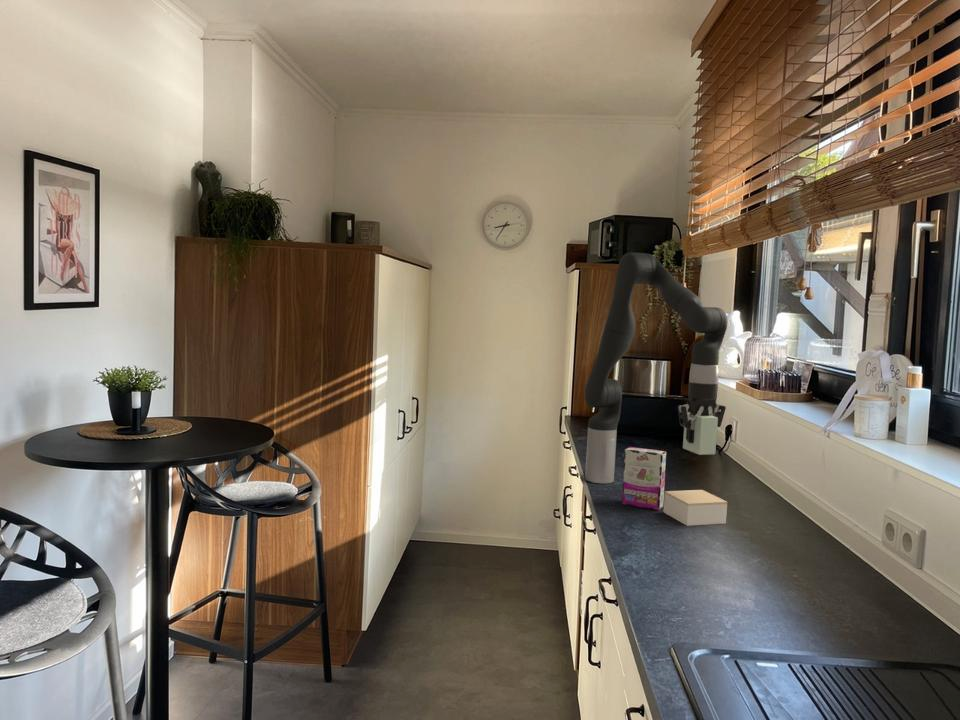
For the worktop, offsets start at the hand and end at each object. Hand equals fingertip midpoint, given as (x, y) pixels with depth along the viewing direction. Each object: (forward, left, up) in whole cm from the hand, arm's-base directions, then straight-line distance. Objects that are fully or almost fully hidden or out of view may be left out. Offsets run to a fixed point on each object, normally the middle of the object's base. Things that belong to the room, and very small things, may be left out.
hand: (699, 442), depth 201 cm
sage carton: (0, 0, -2) cm, 2 cm away
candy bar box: (-13, -9, -21) cm, 26 cm away
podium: (0, 0, -21) cm, 21 cm away
